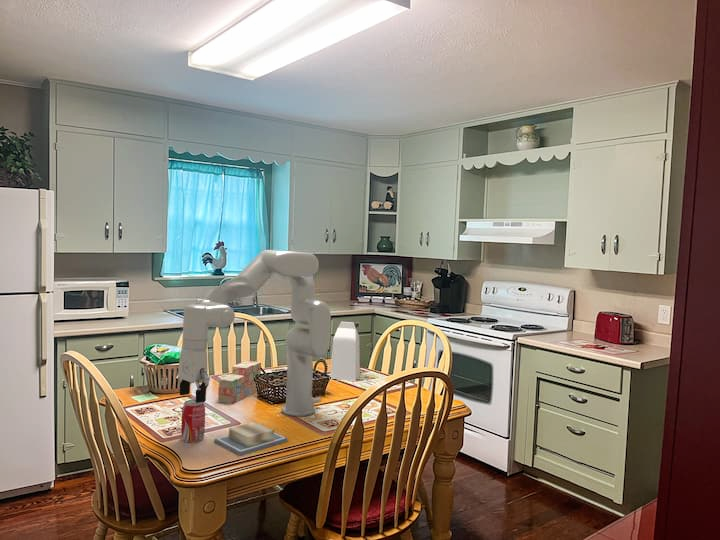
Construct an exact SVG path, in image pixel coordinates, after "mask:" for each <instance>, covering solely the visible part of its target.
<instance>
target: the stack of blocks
mask: <svg viewBox="0 0 720 540" xmlns="http://www.w3.org/2000/svg"><path fill="white" fill-rule="evenodd" d="M258 368H259V369H258ZM260 368H262V362H260V361H253V360H247V361H243V362H242V361H241V362H240V363H238V364H235V365H232V369H231V374H229V375H226V376H222V377H220V378H219V379H218V390H217V391H218V394H217V395H218V397H217V402H218V403H221V404H228V405H233V404H235V403H238V402H240V401H242V400H244V399H245V398H247V397H250V396H252V395H255V394H257V393H258V392H257V388H256V384H255V381H254V378H255V375H257V374H258V375H260V374H261V375H262V369H260ZM257 370H258V371H257Z"/></svg>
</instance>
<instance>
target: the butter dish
mask: <svg viewBox="0 0 720 540" xmlns="http://www.w3.org/2000/svg"><path fill="white" fill-rule="evenodd" d="M288 440H289V439H288V437H286V436H283V435H281V434H279V433H277V432H275V430H274V429H273V428H270V427H268V426H266V425H264V424H261V423H259V422H257V421H252V422H250V423H249V422H248V423H245V424H241V425H237V426H233V427H230V428H228V435H224V436H220V437H217V438H214V440H213V442H214V443H215V444H218V445H219V446H222V447H223V448H224V449H227V450H228V451H230V452H232V453H234V454H236V455H238V456H244V455H247V454H250V453H254V452H257V451H261V450H263V449H266V448H269V447H274V446H276V445H279V444H282V443H283V444H284V443H286V442H289V441H288Z"/></svg>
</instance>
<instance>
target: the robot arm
mask: <svg viewBox="0 0 720 540" xmlns="http://www.w3.org/2000/svg"><path fill="white" fill-rule="evenodd" d="M319 265H320V263H319V259H318V258H317V256H316V255H315V254H313V253H311V252H305V251H302V252H301V251H295V250H292V251H289V250H287V251H286V250H274V249H265V250H262V251H260V252H259V253H258V254H257V255H256V256H255V257H254V258H253V259H252V260H251V261H250V263H248V264H247V265H246V266H245V267H244V268H243V269H242V271H240V273H238V274H237V275H236V276H235V277H232V278H231V279H229V280H226V281H225V282H223V283H221V284H220V285H218V286H216V287H215V288H213V290H211V291H210V292H209V293H208V294H207V295H206V296H205V297H204V298H203V299H201V301H200V303H198V304H197V303H195V304H194V303H192V304H191V303H190V304H187V305H185V306H184V309H183V323H182V325H183V326H182V341H181V343H182V345H181V350H180V355H179V361H178V362H179V363H178V367H177V369H178V373H177V374H178V378H179V379H178V381H179V395H180V396H187V395H190V391H191V390H190V387H191V384H195V386H196V390H195V400H196V401H195V402H196V403H200V402H203V403H204V402H206V399H207V390H208V387H209V383H210V380H211V378H210V375H209V374H208V352H207V350H208V340H209V339H208V338H209V328H219V329H223V328H227V327H230V326H231V325H232V324H233V323H234V321H235V318H236V313H235V311H234V309H233V307H231V306H229V304H230V303H232V302H234V301H237V300H240V299H241V300H242V299H243V298H248V297H250V296H253V295H254V296H255V294H257V292H259V290H260V289H262V287H263V286H264V285H265V284H266V283H267V282H268V281H269V280H270V279H271V278H272V277H273V276H278V277H287V278H288V280H289V282H290V287H291V292H290V294H291V296H290V297H291V298H290V299H291V301H290V317H291V319H292V320H293V322H295V323H298V324H300V325H301V324H302V325H304V326H305V325H306V326H308V327H306V326H305V327H304V326H294V327H291V328H290V329H289V330H288V331H287V332H286V335H285V339H284V340H285V349H286V356H287V357H286V359H287V362H286V363H287V364H286V365H287V367H286V386H285V387H286V392H285V404H284V405H282V407H281V412H282V413H283V414H285V415H287V416H292V417H305V416H306V417H307V416H310V415H313V414H314V413H315V412H316V407H315V404H317V403H321V402H322V398H321V397H319V396H317V397H314V396H313V377H314V376H313V373H314V372H313V371H314V362H313V358H312V357H314V358H319V357H323V356H324V355H326V354H327V352H328V349H329V347H330V338H331V318H332V316H331V310H330V308H329V305H328V304H327V303H326V302H325V301H323V300H319V299H316V295H315V291H316V290H315V280H314V278H313V276H314V275H315V274H316V273H317V271H318V270H319Z"/></svg>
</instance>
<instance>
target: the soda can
mask: <svg viewBox="0 0 720 540" xmlns="http://www.w3.org/2000/svg"><path fill="white" fill-rule="evenodd" d="M195 401H196V399H188V400H185V401H184V405H183V406H182V409H181V431H180V432H181V433H180V434H181V439H182V441H185V442H186V441H187V442H186V443H191V442H192V443H197V442H200V441H201V440H202V439H204V438H205V431H206V430H205V429H206V407H205V405H204V402H200V403H196V402H195Z"/></svg>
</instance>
